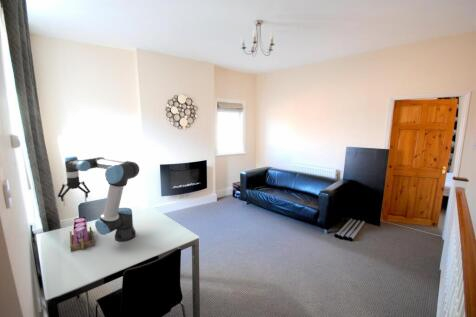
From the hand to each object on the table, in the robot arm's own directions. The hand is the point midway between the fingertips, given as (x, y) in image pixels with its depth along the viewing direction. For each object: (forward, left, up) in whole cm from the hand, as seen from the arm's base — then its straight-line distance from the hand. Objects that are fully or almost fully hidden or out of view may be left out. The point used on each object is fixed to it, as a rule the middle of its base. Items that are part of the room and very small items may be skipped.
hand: (75, 203), depth 177 cm
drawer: (-2, +11, -27) cm, 29 cm away
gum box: (-1, +10, -26) cm, 28 cm away
